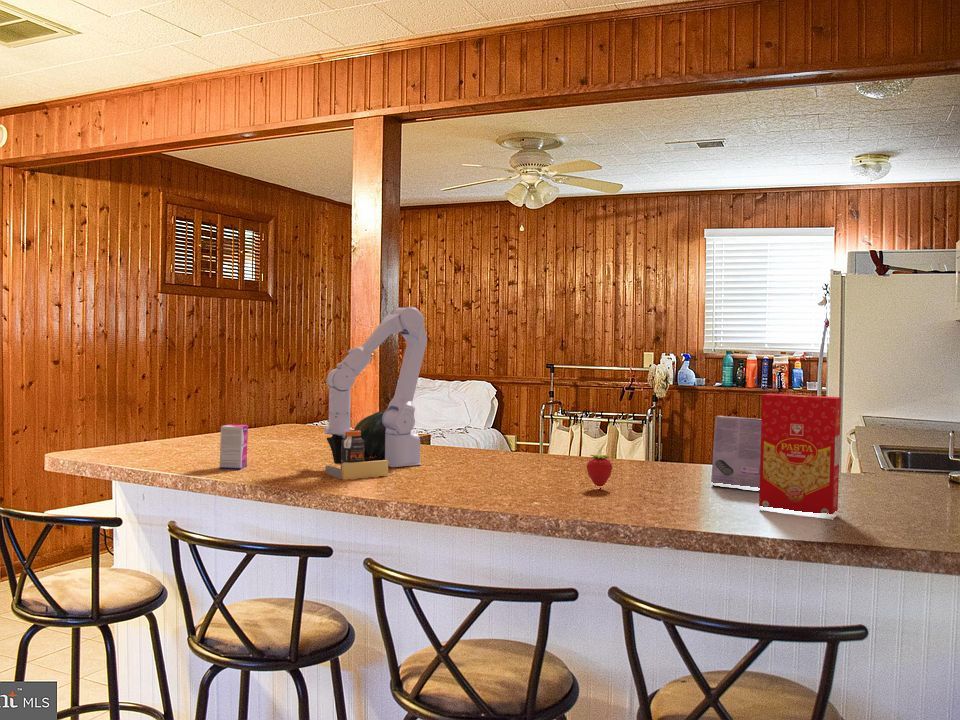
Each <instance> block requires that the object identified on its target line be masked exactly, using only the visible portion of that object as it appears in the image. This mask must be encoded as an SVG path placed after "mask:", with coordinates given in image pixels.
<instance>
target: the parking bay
mask: <svg viewBox="0 0 960 720" xmlns="http://www.w3.org/2000/svg"><path fill="white" fill-rule="evenodd" d="M325 473H326V475H328V474H329V475H328V476H331V475H332V476H331V477H333V476H334V478H336V477H337V479H339V478H340V479H339V480H342V479H343V480H342V481H345V480H344V479H351V480H358V479H357V478H362V479H369V478H368V477H373V478H380V477H379V476H384V477H388V476H389V466H388V460H385V459H382V460H369V461H364V462H355V463H342V470H341V468H338V467H335V466H333V465H325ZM325 473H324V474H325Z"/></svg>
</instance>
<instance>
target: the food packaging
mask: <svg viewBox="0 0 960 720" xmlns="http://www.w3.org/2000/svg"><path fill="white" fill-rule="evenodd" d="M841 410H842V396H824V395H823V396H822V395H807V394H805V395H804V394H790V393H789V394H786V393H764V394H761V418H760V419H761V454H760V490H759V492H758V493H759V496H758V497H759V499H758V507H759V506H763V507H773V508H783V509H789V510H794V511H802V512H813V513H827V514H828V513H829V514H833V513H834V512H835V511H837V510H838V511H839V479H840V478H839V477H840V476H839V475H840V470H839V469H840V445H841V418H842V417H841V414H842V412H841Z"/></svg>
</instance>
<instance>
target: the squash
mask: <svg viewBox="0 0 960 720" xmlns="http://www.w3.org/2000/svg"><path fill="white" fill-rule="evenodd" d="M386 410H387V409H386ZM386 410H380V411H377V412H375V413H373V414H371V415H368V416H366V417H364V418H362V419H361V420H360V421H359V422H358V423H356V426H355V427H354V429H353V430H359V431H361V438H362V439H363V440H364V459H369V458H377V459H378V458H381V459H382V460H385V431H386V427H385V426H384V425H383V422H382V417H383V414H384V412H385V411H386Z"/></svg>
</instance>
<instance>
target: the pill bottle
mask: <svg viewBox="0 0 960 720" xmlns="http://www.w3.org/2000/svg"><path fill="white" fill-rule="evenodd" d="M345 436H346V437H345V438H344V439H343V440H342V442H341V464H340V469H341V470H342V463H355V462H365V458H364V440H363V439H362V438H361V431H359V430H354V429H351V430H346V431H345Z"/></svg>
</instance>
